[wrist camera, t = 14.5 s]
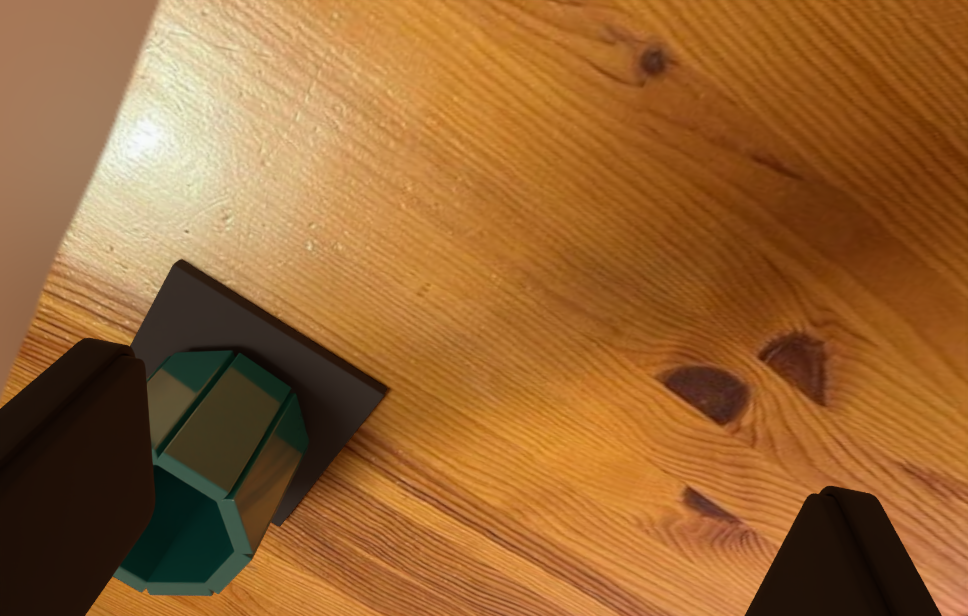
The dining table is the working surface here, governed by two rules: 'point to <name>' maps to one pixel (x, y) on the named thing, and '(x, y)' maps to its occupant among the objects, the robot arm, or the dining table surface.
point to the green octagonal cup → (213, 470)
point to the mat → (261, 363)
